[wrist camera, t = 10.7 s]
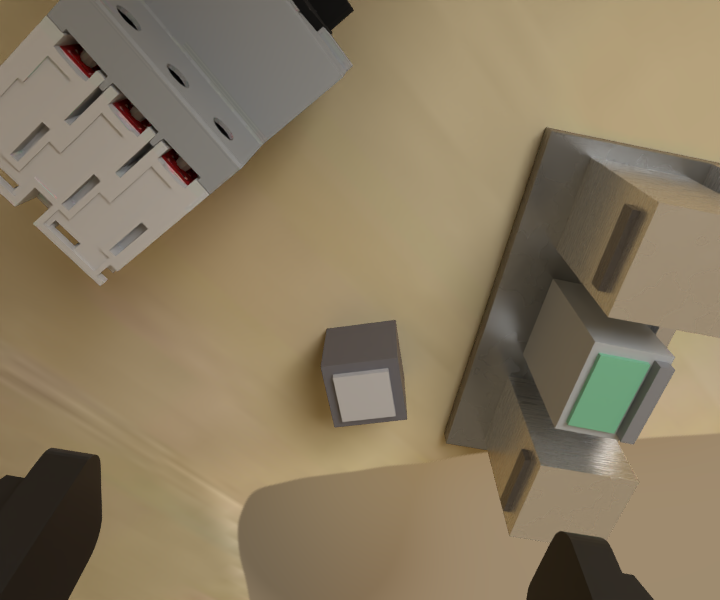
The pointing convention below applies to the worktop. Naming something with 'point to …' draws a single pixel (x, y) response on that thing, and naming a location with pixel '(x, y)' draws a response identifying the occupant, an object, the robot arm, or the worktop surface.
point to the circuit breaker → (152, 109)
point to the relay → (364, 374)
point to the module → (595, 366)
